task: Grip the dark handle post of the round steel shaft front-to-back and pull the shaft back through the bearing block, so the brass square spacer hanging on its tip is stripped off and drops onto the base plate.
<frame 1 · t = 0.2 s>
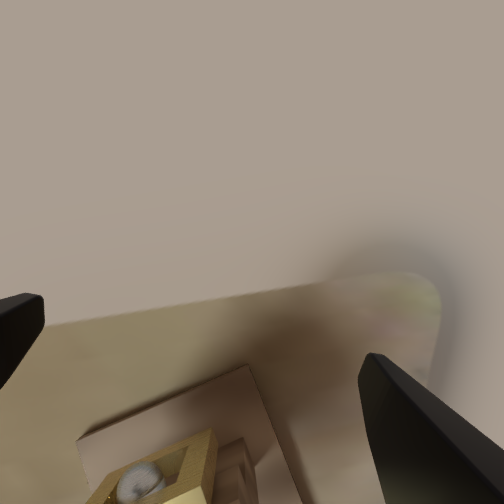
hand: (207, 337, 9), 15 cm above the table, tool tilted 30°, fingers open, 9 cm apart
spacer: (164, 458, 18), point 4 cm above the table, touching shaft
bearing stand: (200, 495, 21), on the table
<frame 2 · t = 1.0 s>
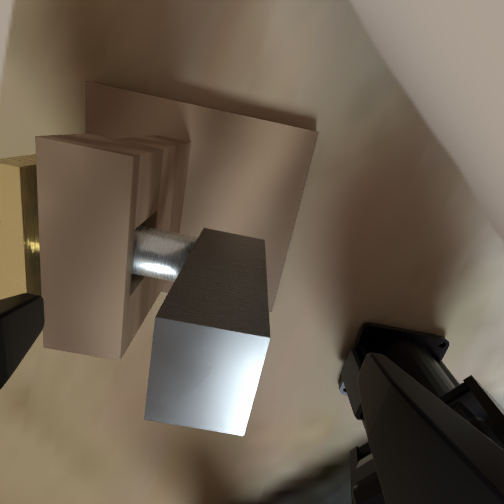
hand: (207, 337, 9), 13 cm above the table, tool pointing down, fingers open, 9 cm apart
spacer: (92, 209, 17), point 4 cm above the table, touching shaft
bearing stand: (192, 207, 21), on the table
shaft: (167, 290, 11), point 11 cm above the table, slide at 0.0 cm, touching spacer
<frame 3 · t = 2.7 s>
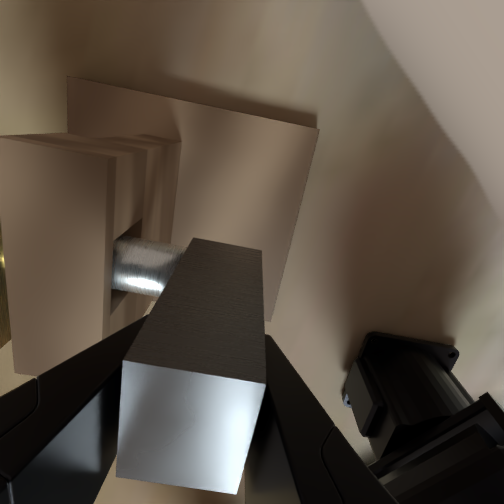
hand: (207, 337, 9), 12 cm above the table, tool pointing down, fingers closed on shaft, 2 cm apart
spacer: (74, 216, 15), point 4 cm above the table, touching shaft
bearing stand: (185, 211, 19), on the table
shaft: (150, 311, 10), point 11 cm above the table, slide at 0.0 cm, touching gripper, spacer
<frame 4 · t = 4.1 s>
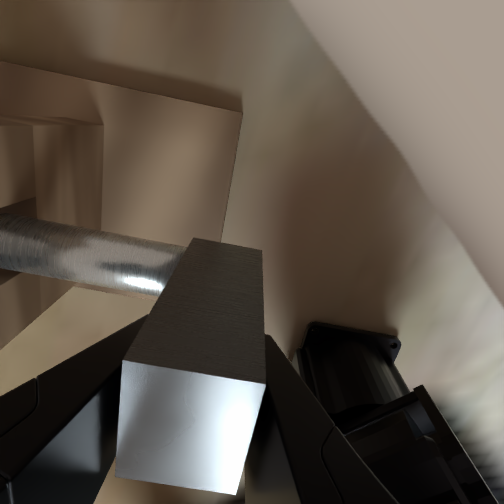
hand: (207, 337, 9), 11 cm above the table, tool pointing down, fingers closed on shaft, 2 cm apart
bearing stand: (116, 198, 19), on the table
shaft: (149, 311, 10), point 11 cm above the table, slide at 4.2 cm, touching gripper
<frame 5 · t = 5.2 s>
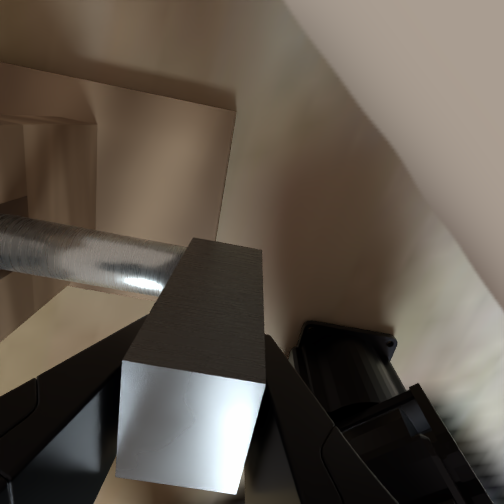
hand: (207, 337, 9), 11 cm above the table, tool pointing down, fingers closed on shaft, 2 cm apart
bearing stand: (111, 197, 19), on the table
shaft: (149, 311, 10), point 11 cm above the table, slide at 4.5 cm, touching gripper
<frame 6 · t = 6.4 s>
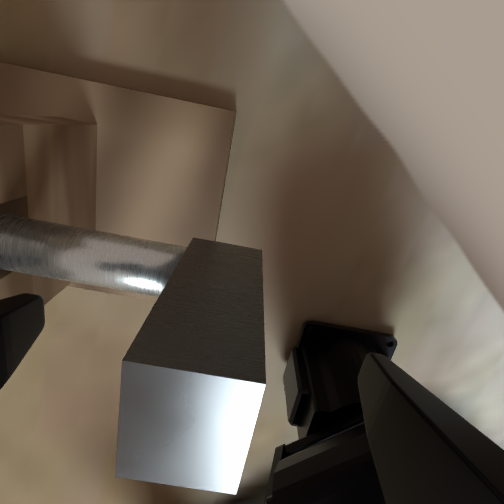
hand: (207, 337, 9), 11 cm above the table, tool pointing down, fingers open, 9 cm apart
bearing stand: (110, 197, 19), on the table
shaft: (149, 311, 10), point 11 cm above the table, slide at 4.5 cm
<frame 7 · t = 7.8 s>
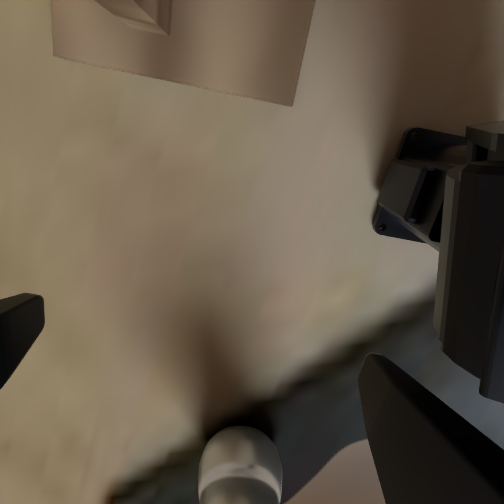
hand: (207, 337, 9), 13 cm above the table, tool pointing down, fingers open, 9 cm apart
plastic bottle: (242, 439, 29), on the table
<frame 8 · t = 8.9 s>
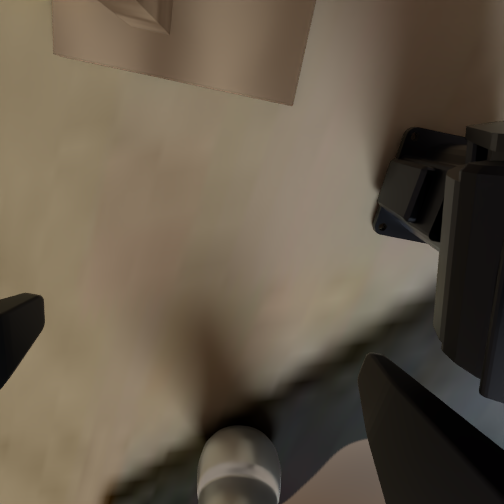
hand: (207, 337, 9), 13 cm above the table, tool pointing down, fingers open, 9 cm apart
plastic bottle: (241, 439, 29), on the table
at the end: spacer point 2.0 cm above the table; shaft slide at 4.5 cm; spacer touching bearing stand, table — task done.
